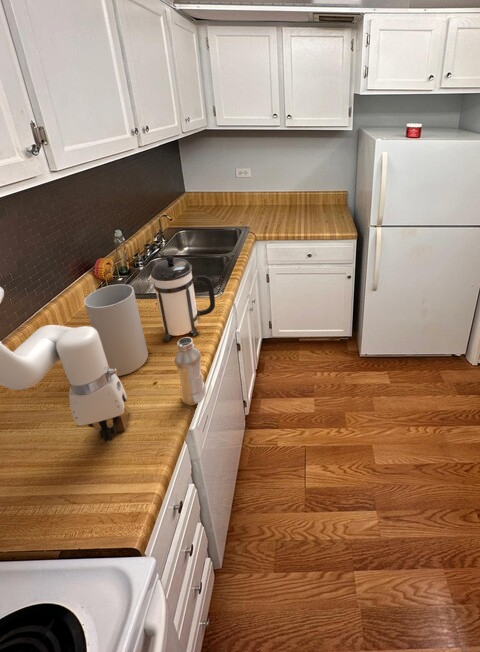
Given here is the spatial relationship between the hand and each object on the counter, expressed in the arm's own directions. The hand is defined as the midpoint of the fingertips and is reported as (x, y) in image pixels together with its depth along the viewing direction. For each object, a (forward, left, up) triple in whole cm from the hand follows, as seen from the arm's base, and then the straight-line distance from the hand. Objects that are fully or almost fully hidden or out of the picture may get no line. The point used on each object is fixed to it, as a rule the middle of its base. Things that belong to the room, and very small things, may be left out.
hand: (110, 435), depth 81 cm
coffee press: (+17, +40, -2) cm, 43 cm away
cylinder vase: (-1, +28, -2) cm, 28 cm away
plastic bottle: (+19, +6, -2) cm, 20 cm away
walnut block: (0, +4, -2) cm, 4 cm away
